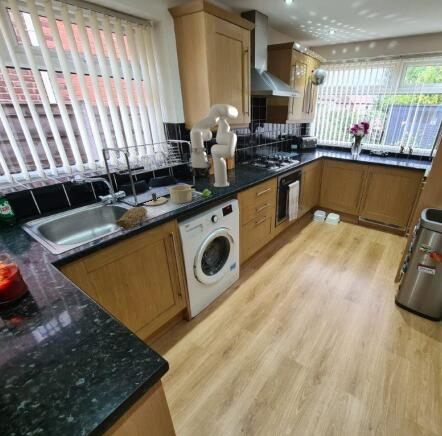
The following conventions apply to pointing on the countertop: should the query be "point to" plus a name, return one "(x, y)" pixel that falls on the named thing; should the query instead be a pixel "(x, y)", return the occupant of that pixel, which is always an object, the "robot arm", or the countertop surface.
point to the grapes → (206, 193)
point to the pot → (180, 193)
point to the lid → (156, 200)
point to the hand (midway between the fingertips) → (201, 176)
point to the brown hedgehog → (132, 217)
